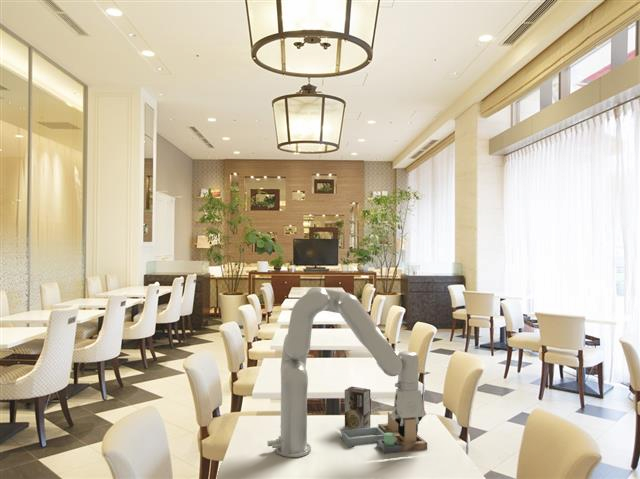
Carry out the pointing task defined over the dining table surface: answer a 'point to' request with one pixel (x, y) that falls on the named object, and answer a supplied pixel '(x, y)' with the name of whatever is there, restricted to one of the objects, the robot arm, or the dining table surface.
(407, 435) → the block
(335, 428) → the dining table surface
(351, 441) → the tote frame
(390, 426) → the seated block
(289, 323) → the robot arm
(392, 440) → the button
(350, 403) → the coffee box
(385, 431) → the brown divided tray
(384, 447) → the grey square socket
